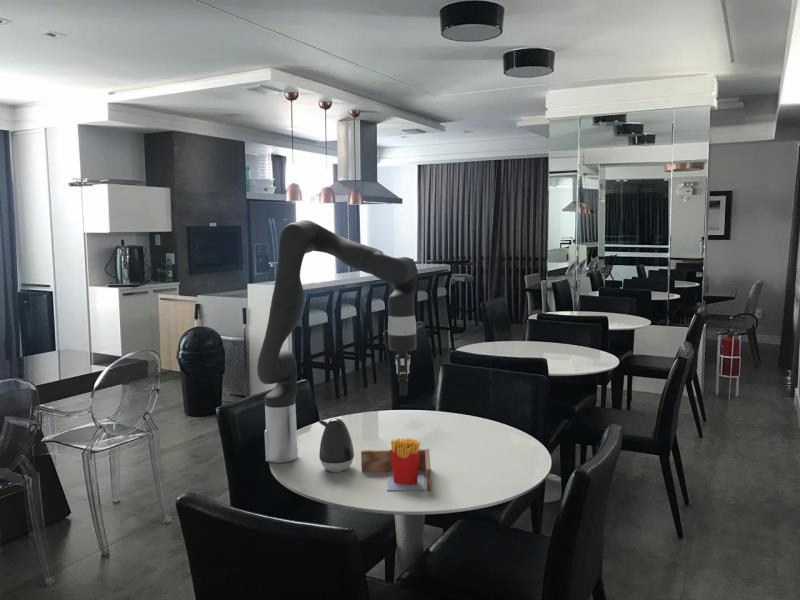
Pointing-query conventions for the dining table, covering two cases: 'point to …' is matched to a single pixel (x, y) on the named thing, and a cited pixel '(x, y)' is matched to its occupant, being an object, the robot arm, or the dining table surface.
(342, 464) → the pump dispenser
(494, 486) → the dining table surface
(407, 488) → the mat
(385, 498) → the dining table surface
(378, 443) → the dining table surface
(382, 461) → the wooden corner bracket
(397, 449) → the french fries
